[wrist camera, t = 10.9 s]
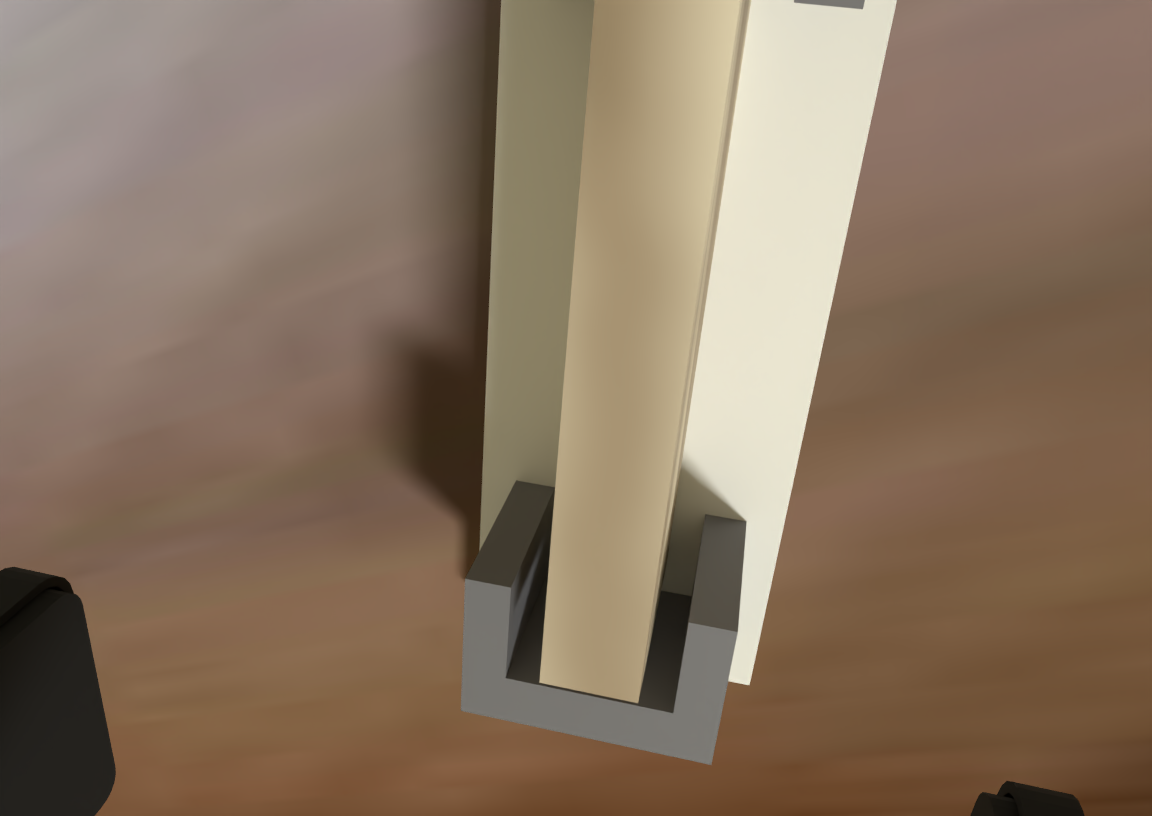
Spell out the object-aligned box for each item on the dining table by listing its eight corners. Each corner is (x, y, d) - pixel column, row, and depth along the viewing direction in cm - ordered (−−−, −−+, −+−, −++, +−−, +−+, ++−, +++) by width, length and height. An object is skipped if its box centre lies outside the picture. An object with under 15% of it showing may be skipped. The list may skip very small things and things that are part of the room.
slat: (769, -117, 20) (760, -139, 15) (666, 562, 28) (637, 703, 23) (654, -127, 21) (606, -152, 15) (585, 547, 29) (539, 682, 24)
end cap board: (957, -320, 19) (1027, -431, 14) (751, 653, 31) (741, 813, 25) (533, -340, 21) (434, -449, 15) (489, 601, 32) (424, 742, 27)
